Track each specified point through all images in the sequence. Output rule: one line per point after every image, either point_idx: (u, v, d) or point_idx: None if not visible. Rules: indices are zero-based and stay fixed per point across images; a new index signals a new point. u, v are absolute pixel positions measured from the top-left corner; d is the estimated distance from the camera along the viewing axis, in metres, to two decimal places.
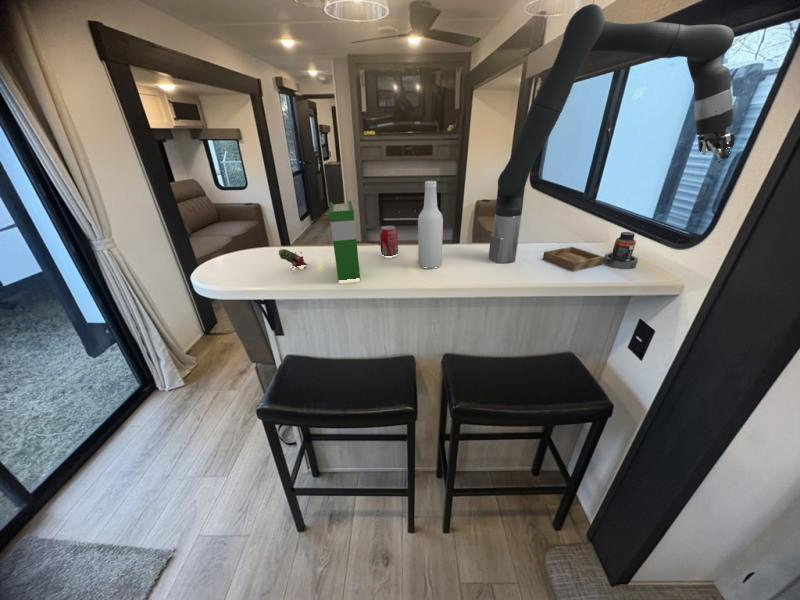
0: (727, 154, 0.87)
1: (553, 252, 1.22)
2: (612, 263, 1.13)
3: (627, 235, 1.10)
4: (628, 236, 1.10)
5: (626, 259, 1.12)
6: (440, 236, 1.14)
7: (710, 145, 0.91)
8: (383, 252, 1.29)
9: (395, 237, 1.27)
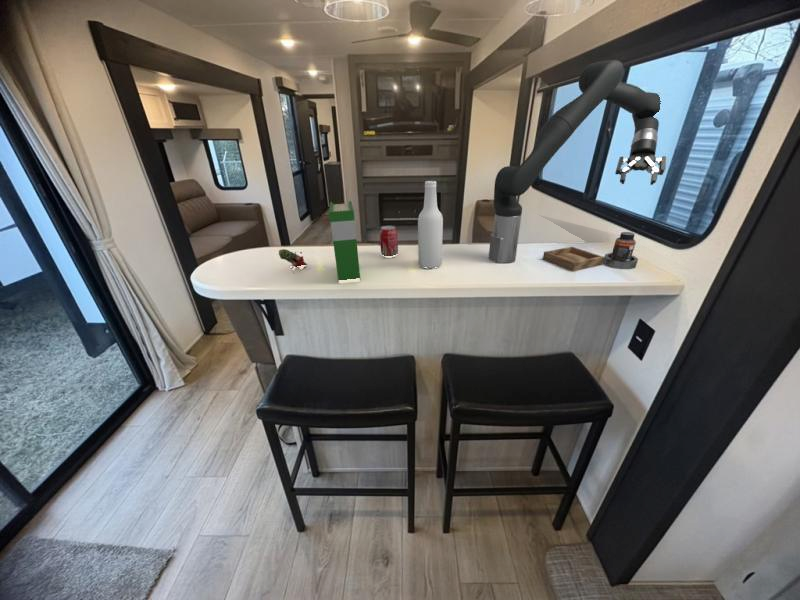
0: None
1: (553, 252, 1.22)
2: (612, 263, 1.13)
3: (627, 235, 1.10)
4: (628, 236, 1.10)
5: (626, 259, 1.12)
6: (440, 236, 1.14)
7: (649, 160, 1.13)
8: (383, 252, 1.29)
9: (395, 237, 1.27)
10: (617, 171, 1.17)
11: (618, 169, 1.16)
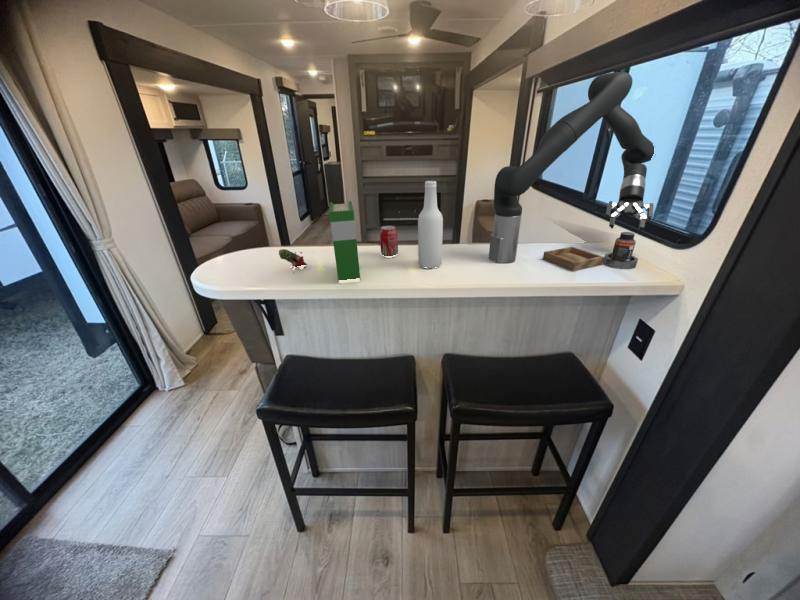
0: None
1: (553, 252, 1.22)
2: (612, 263, 1.13)
3: (627, 235, 1.10)
4: (628, 236, 1.10)
5: (626, 259, 1.12)
6: (440, 236, 1.14)
7: (637, 206, 1.16)
8: (383, 252, 1.29)
9: (395, 237, 1.27)
10: (606, 215, 1.20)
11: (607, 214, 1.19)
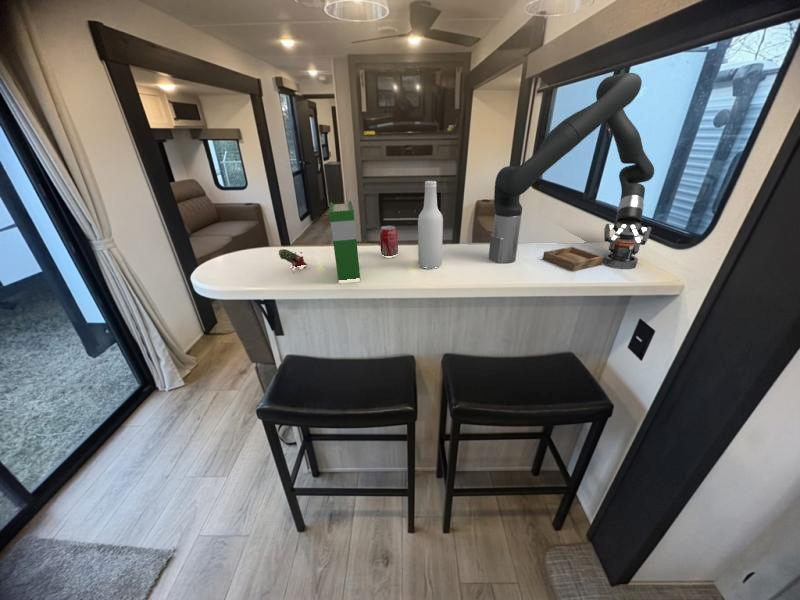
0: None
1: (553, 252, 1.22)
2: (612, 263, 1.13)
3: (627, 235, 1.10)
4: (627, 236, 1.10)
5: (626, 259, 1.12)
6: (440, 236, 1.14)
7: (634, 228, 1.12)
8: (383, 252, 1.29)
9: (395, 237, 1.27)
10: (606, 239, 1.16)
11: (607, 237, 1.15)
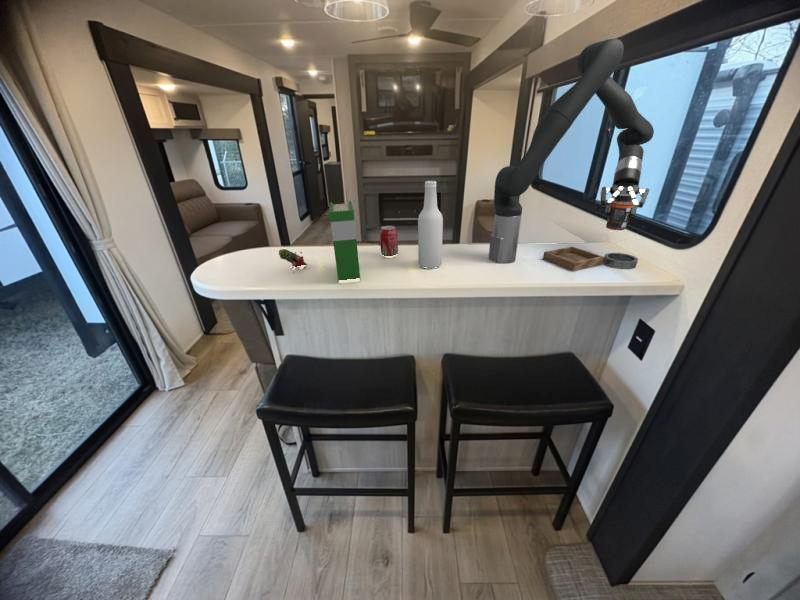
0: None
1: (553, 252, 1.22)
2: (612, 263, 1.13)
3: (624, 196, 1.05)
4: (624, 197, 1.05)
5: (623, 222, 1.07)
6: (440, 236, 1.14)
7: (631, 190, 1.07)
8: (383, 252, 1.29)
9: (395, 237, 1.27)
10: (602, 202, 1.11)
11: (603, 200, 1.10)
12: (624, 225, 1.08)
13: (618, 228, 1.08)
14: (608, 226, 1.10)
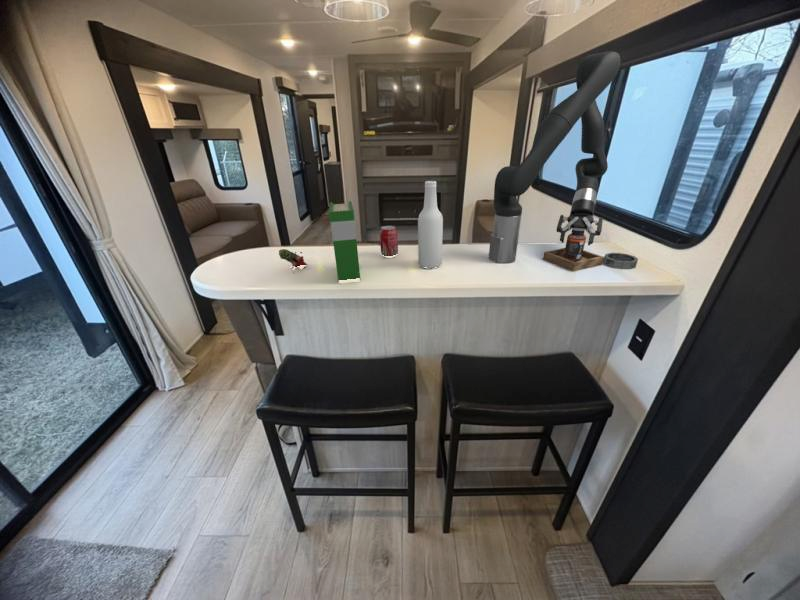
0: None
1: (553, 252, 1.22)
2: (612, 263, 1.13)
3: (577, 231, 1.13)
4: (578, 232, 1.13)
5: (577, 254, 1.15)
6: (440, 236, 1.14)
7: (586, 220, 1.14)
8: (383, 252, 1.29)
9: (395, 237, 1.27)
10: (557, 229, 1.18)
11: (558, 228, 1.18)
12: (579, 257, 1.16)
13: (573, 259, 1.16)
14: (565, 257, 1.18)
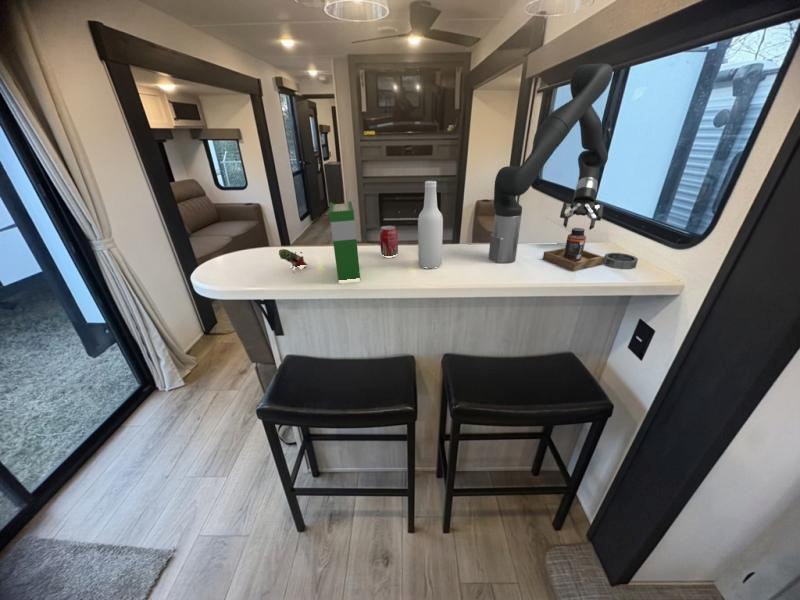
0: None
1: (553, 252, 1.22)
2: (612, 263, 1.13)
3: (577, 231, 1.13)
4: (578, 232, 1.13)
5: (577, 254, 1.15)
6: (440, 236, 1.14)
7: (588, 207, 1.23)
8: (383, 252, 1.29)
9: (395, 237, 1.27)
10: (561, 215, 1.28)
11: (562, 214, 1.27)
12: (579, 257, 1.16)
13: (573, 259, 1.16)
14: (565, 257, 1.18)
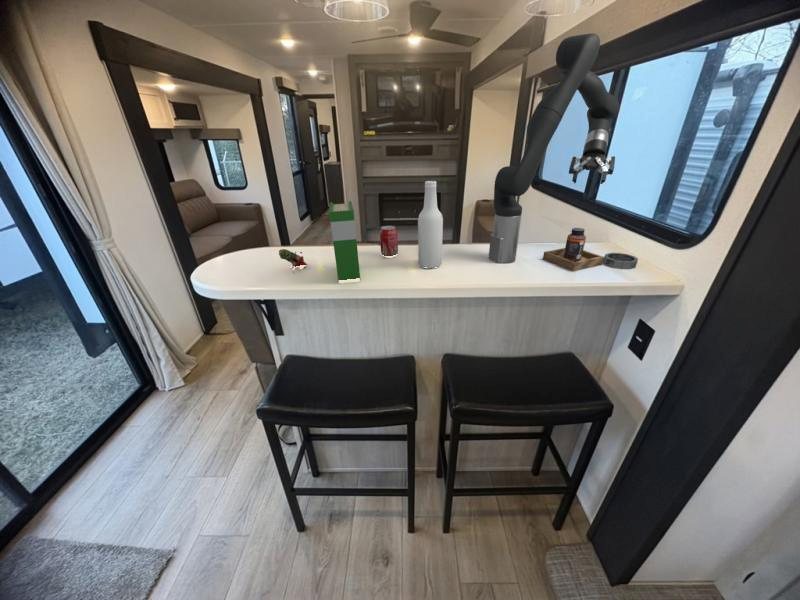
0: None
1: (553, 252, 1.22)
2: (612, 263, 1.13)
3: (577, 231, 1.13)
4: (578, 232, 1.13)
5: (577, 254, 1.15)
6: (440, 236, 1.14)
7: (599, 160, 1.16)
8: (383, 252, 1.29)
9: (395, 237, 1.27)
10: (570, 171, 1.20)
11: (570, 169, 1.19)
12: (579, 257, 1.16)
13: (573, 259, 1.16)
14: (565, 257, 1.18)
